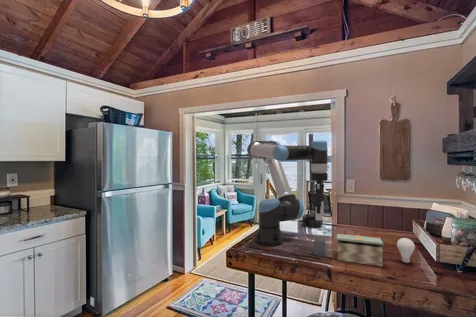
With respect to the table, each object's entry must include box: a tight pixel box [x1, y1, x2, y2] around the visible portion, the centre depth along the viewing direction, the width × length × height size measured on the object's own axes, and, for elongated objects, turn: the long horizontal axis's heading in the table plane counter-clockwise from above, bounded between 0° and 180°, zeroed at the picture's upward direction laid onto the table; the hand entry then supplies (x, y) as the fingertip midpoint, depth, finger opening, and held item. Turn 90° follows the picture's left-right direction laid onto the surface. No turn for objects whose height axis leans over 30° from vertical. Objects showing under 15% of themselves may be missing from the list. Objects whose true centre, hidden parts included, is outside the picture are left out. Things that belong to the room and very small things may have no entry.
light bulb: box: [396, 237, 416, 264], centre depth 112 cm, size 7×7×11 cm
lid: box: [336, 233, 385, 246], centre depth 117 cm, size 19×11×1 cm, turn 67°
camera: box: [301, 211, 324, 229], centre depth 170 cm, size 13×10×10 cm
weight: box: [313, 237, 327, 258], centre depth 123 cm, size 5×5×7 cm
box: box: [337, 240, 383, 267], centre depth 118 cm, size 18×11×8 cm, turn 67°
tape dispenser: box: [356, 232, 384, 248], centre depth 132 cm, size 18×5×20 cm
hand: (319, 217), depth 123 cm, fingers open, 11 cm apart
